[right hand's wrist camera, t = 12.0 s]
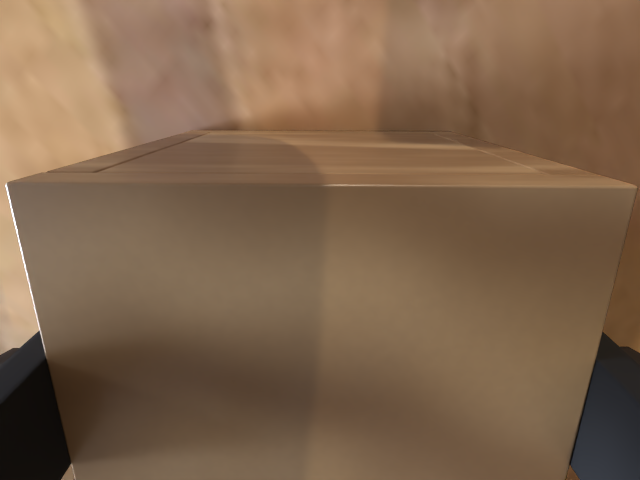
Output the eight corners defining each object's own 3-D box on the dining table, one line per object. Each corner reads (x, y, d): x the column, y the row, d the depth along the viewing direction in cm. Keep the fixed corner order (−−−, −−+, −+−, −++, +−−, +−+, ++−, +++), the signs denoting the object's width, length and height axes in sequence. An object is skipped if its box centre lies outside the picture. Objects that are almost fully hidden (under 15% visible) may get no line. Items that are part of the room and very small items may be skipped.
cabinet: (413, 514, 25) (480, 826, 14) (225, 513, 25) (155, 823, 14) (451, 131, 18) (640, 185, 7) (191, 130, 18) (2, 182, 7)
